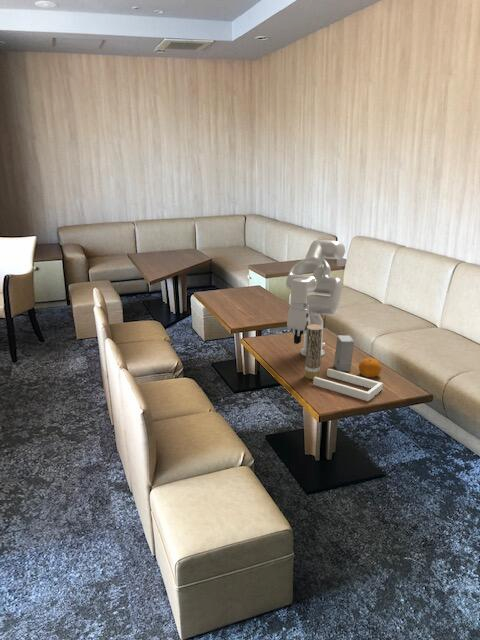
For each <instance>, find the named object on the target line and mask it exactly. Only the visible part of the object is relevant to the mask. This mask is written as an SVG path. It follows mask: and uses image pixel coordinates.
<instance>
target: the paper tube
mask: <svg viewBox="0 0 480 640" xmlns="http://www.w3.org/2000/svg"><path fill="white" fill-rule="evenodd" d="M321 339H322V340H323V337H322V326H320V325H315V324H312V325H308V326H307V339H306V356H305V365H304V368H305V369H304V376H305V378H306V379H308V380H314V377H318V378H320V375H321V373H320V372H321V357H322V356H321Z"/></svg>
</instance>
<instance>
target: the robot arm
mask: <svg viewBox="0 0 480 640" xmlns="http://www.w3.org/2000/svg"><path fill="white" fill-rule="evenodd" d="M345 253H346V247H345V245H344V243H343V242H341V241H340V242H339V241H337V240H330V239H329V240H328V239H315V240H313V241H311V243H310V246H309V248H308V251H307V253H306V255H305V257H304V259H302V260H300V261H298V262H297V263H295V264H294V265H293V266H292V267H291V268H290V270H289V272H288V275H287V277H286V280H285V281H286V282H285V285H286V288H287V289H288V290H289V291H290V306H289V309H288V313H287V321H286V326H287V330H289V331H291V333H292V335H293V344H295V345H299V344H301V342H302V335H303V348H301V349H300V354H301V355H302V356H304V357H306V339H307V326H308V325H312V324H315V325H320V326H322V339H321V357H323V356H324V355H325V354H326V353H325V350H324V349H323V347H325V346H326V343H325V342H323V336H324V335H323V334H324V333H323V331H324V320H323V318H322V316H321V315H324V316H335V315H337V313H338V311H339V305H340V300H341V295H342V290H343V289H342V288H343V282H342V279H341V278H339V277H335V276H331V266H330V264H329V262H328V261H327V260H329V259H330V260H331V259H332V260H342V259H343V258H344V255H345ZM326 259H327V260H326ZM312 272H313V273H312ZM308 273H312V275H303V274H308ZM308 293H313V294H308Z"/></svg>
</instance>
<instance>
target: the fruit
mask: <svg viewBox="0 0 480 640" xmlns="http://www.w3.org/2000/svg"><path fill="white" fill-rule="evenodd" d="M358 371H359V373H360V374H361V375H362V376H364V377H365V378H374V377H377V376H379V375H380V374H381V371H382V364H381V363H380V361H379V360H378V359H376V358H373V357H367V358H364V359H362V360H361V361H360V362H359V365H358Z"/></svg>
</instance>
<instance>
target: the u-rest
mask: <svg viewBox="0 0 480 640" xmlns="http://www.w3.org/2000/svg"><path fill="white" fill-rule="evenodd" d="M326 377H329V378H332V379H336V380H338V381H343V382H345V383H346V382H347V383H350V384H353V385H357V386H361V387H363V386H364V388H368V389H369V390H368V391H366V390H362V389H359V388H355V387H353V386H349V385H345V384H342V383H338V382H336V381H331V380H328V379H324V378H322V377H319V378H318V377H314V380H313V383H312V385H314V386H316V387H319V388H323V389H327V390H329V391H333V392H336V393H340V394H343V395H346V396H349V397H353V398H356V399H359V400H363V401H366V402H370V401H371V400H372V399H374V398H375V397H376V396H377V395H379V392H380V391H381V390H382V391H383V386H384V383H383V382H380V381H377V380H373V379H369V378H367V377H362V376H358V375H354V374H352V373H347V372H345V371H338V370H337V369H334V368H327V372H326ZM370 388H371V389H370ZM382 391H381V392H382ZM381 392H380V393H381ZM375 395H376V396H375Z"/></svg>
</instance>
